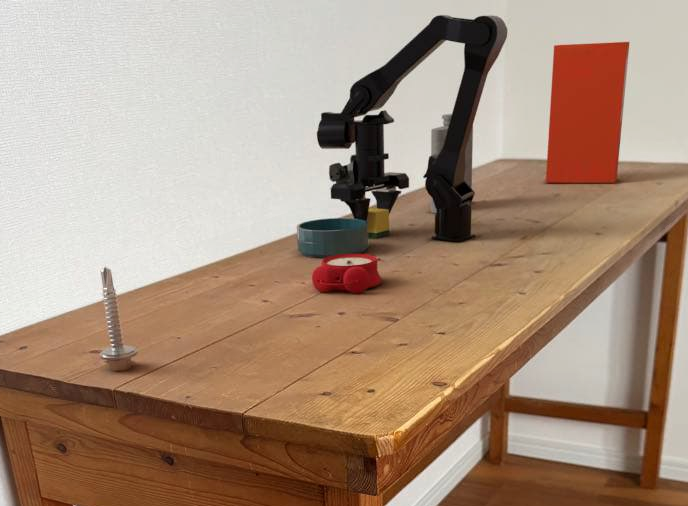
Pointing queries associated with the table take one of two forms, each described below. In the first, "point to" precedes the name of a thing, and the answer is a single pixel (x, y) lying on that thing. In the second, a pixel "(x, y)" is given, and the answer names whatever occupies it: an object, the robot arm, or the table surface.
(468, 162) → the hip flask
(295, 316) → the table surface
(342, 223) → the bowl
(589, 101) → the file binder
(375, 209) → the sponge
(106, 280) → the screw
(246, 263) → the table surface
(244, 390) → the table surface
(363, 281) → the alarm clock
